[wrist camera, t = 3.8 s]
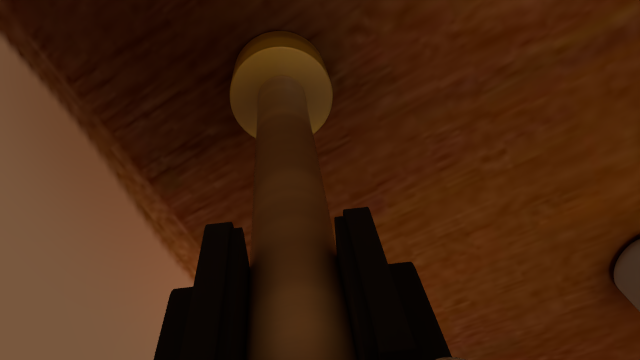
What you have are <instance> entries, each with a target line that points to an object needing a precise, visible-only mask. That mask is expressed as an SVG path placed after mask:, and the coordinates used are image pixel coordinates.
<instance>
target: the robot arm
mask: <svg viewBox="0 0 640 360" xmlns="http://www.w3.org/2000/svg"><path fill="white" fill-rule="evenodd" d="M335 235H336V250H337V259H338V264H339V269H340V274H341V279H342V284H343V290H344V295H345V300H346V305H347V310H348V315H349V320H350V325H351V330H352V335H353V340H354V345H355V350H356V355H357V360H465V359H461V358H452V356H451V354H450V351H449V349H448V346H447V344H446V341H445V339H444V337H443V334H442V332H441V329H440V327H439V324H438V322H437V320H436V317H435V315H434V312H433V310H432V307H431V305H430V303H429V300H428V298H427V295H426V293H425V290H424V288H423V286H422V283H421V281H420V278H419V276H418V273H417V271H416V269H415V267H414V265H413V263H412V262H403V263H395V264H388V263H387V260H386V257H385V254H384V251H383V248H382V245H381V242H380V239H379V236H378V234H377V231H376V228H375V225H374V222H373V219H372V216H371V213H370V210H369V208H368V207H363V208H354V209H344V210H343V216H340V217H335ZM249 276H250V267H249V261H248V255H247V250H246V244H245V238H244V233H243V229H242V227H241V228H234V227H233V224H232V222H226V223H217V224H207V225H206V226H205V230H204V235H203V240H202V245H201V250H200V255H199V260H198V265H197V271H196V276H195V281H194V286H193V287H187V288H178V289H173V290H172V292H171V294H170V297H169V301H168V305H167V309H166V313H165V317H164V321H163V324H162V329H161V332H160V336H159V340H158V344H157V348H156V352H155V356H154V360H245V358H246V338H247V317H248V297H249Z"/></svg>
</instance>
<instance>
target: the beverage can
mask: <svg viewBox="0 0 640 360" xmlns="http://www.w3.org/2000/svg"><path fill="white" fill-rule="evenodd" d="M614 282H615V284H616V286H617V287H618V289H619V290H620V291H621V292H622V293H623V294H624V295H625V296H626V297H627V298H628V300H629V301H630V302H631V303H632V304H633V305H634V306H635V307H636V308H637V309H638V310H639V311H640V239H639V240H637V241H635V242H633V243H631V244H630V245H629V246H628V247H627V248H626V249H625V250H624V251H623V252H622V254H621V255H620V257H619V258H618V260H617V262H616V265H615V268H614Z"/></svg>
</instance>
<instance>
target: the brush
mask: <svg viewBox="0 0 640 360" xmlns="http://www.w3.org/2000/svg"><path fill="white" fill-rule="evenodd" d="M332 100H333V91H332V85H331V81H330V78H329V76H328V73H327V70H326V68H325V65H324V62H323V60H322V57H321V55H320V54H319V52H318V51H317V49H316V48H315V47H314V46H313V45H312V44H311V43H310V42H309V41H308V40H306V39H305V38H303V37H301V36H300V35H297V34H295V33H291V32H287V31H272V32H267V33H264V34H261V35H259V36H257V37H255V38H254V39H252V40H251V41H250V42H249V43H247V44H246V45H245V47H244V48H243V49H242V50H241V52H240V53H239V55H238V58H237V60H236V63H235V67H234V72H233V76H232V81H231V86H230V104H231V109H232V111H233V114H234V116H235V118H236V120H237V122H238V123H239V124H240V126H241V127H242V128H243V129H244V130H245V131H246V132H247V133H249V134H250V135H251V136H253V137H254V138H256V151H255V172H254V192H253V212H252V233H251V253H250V276H249V297H248V317H247V338H246V358H245V360H357V355H356V350H355V345H354V340H353V335H352V330H351V325H350V320H349V315H348V310H347V305H346V300H345V295H344V290H343V284H342V279H341V274H340V269H339V264H338V259H337V250H336V245H335V240H334V235H333V230H332V225H331V220H330V215H329V210H328V206H327V201H326V196H325V191H324V186H323V181H322V176H321V171H320V166H319V161H318V157H317V152H316V147H315V142H314V137H313V134H314V133H315V132H317V131H318V130H319V129H320V128H321V126H322V125H323V124H324V122H325V121H326V119H327V117H328V115H329V113H330V110H331V106H332Z"/></svg>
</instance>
